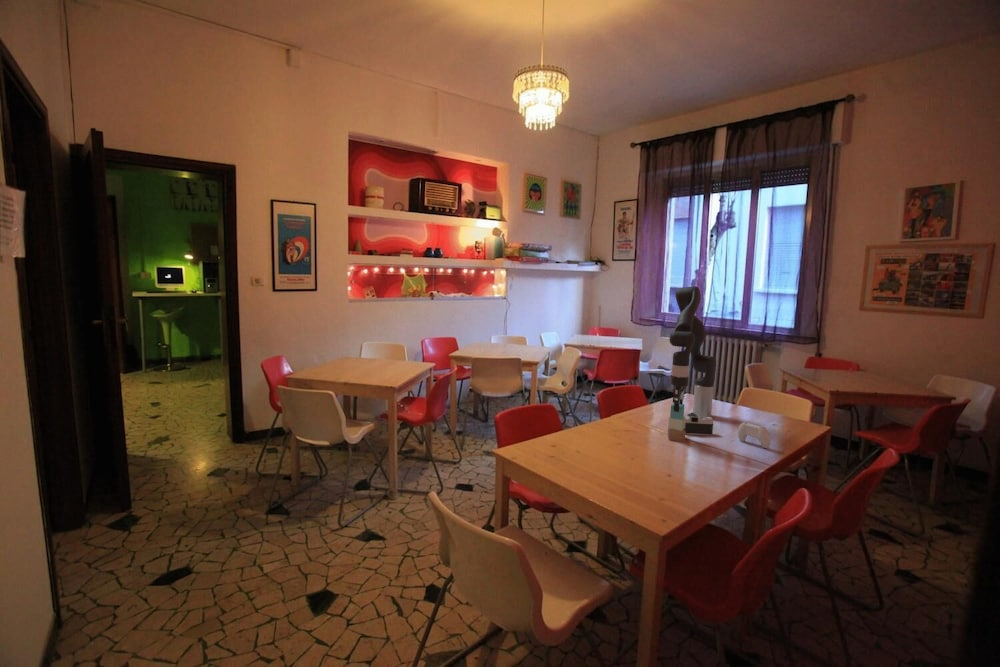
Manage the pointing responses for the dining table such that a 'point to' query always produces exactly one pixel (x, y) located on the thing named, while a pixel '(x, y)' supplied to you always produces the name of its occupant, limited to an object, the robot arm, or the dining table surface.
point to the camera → (698, 425)
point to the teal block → (679, 414)
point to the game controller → (754, 433)
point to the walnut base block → (676, 435)
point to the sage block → (677, 424)
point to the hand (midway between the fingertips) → (678, 409)
